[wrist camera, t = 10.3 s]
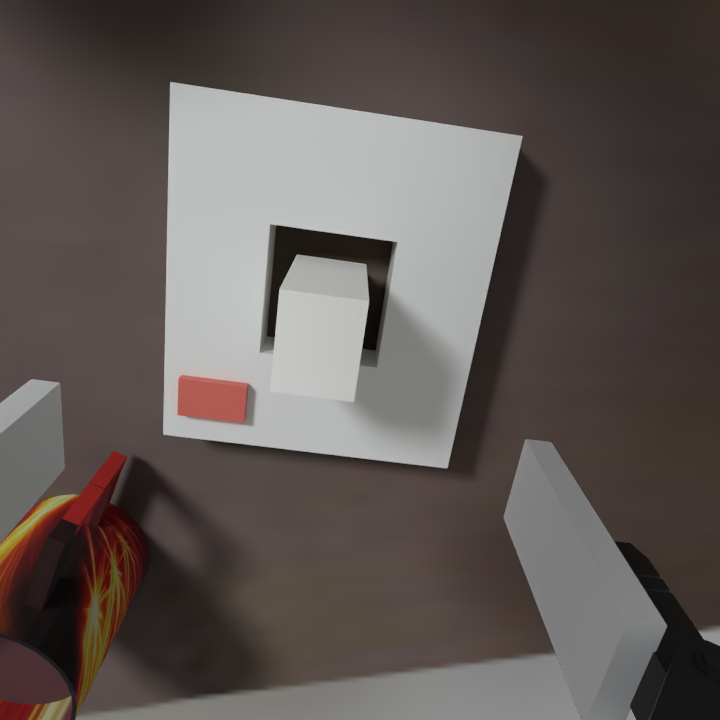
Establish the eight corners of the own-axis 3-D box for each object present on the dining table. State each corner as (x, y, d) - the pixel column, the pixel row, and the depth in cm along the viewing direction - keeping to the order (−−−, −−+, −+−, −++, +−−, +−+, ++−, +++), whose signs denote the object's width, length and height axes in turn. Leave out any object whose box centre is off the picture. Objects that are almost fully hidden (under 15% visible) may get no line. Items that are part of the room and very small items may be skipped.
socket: (186, 86, 31) (166, 80, 28) (508, 136, 32) (525, 136, 29) (177, 412, 39) (160, 439, 35) (440, 445, 40) (448, 473, 36)
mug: (132, 442, 39) (44, 563, 28) (158, 600, 44) (91, 755, 33) (-10, 442, 39) (-154, 563, 28) (32, 600, 44) (-78, 756, 33)
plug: (300, 248, 35) (279, 288, 25) (365, 257, 35) (369, 301, 26) (291, 326, 36) (269, 391, 27) (354, 334, 37) (353, 402, 27)
